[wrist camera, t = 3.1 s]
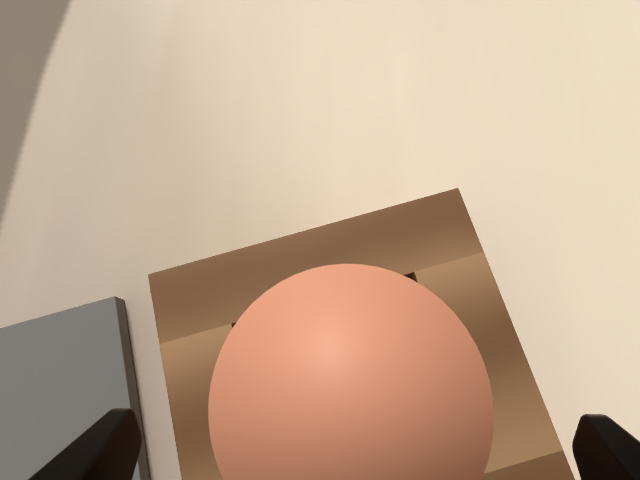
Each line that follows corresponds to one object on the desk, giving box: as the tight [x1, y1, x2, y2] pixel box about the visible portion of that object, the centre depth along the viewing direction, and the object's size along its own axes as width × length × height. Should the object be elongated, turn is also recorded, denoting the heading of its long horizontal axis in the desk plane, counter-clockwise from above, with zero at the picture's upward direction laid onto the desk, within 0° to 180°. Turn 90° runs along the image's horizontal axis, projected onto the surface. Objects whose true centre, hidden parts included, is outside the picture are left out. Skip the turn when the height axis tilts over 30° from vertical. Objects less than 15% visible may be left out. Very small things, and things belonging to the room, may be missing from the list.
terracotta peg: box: [208, 264, 494, 480], centre depth 13 cm, size 4×4×11 cm
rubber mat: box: [0, 297, 150, 480], centre depth 17 cm, size 10×10×1 cm
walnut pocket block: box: [148, 188, 575, 480], centre depth 16 cm, size 12×12×3 cm
